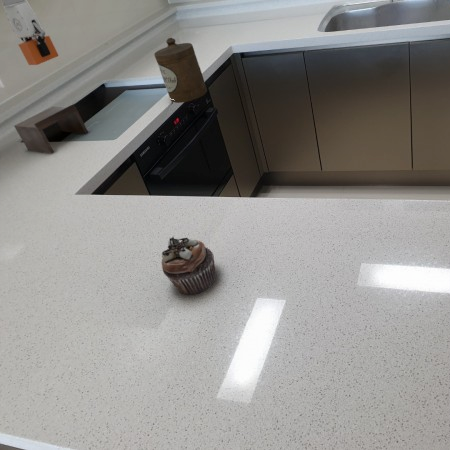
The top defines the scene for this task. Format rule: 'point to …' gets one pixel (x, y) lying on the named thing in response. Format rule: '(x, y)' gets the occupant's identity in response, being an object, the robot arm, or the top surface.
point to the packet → (37, 51)
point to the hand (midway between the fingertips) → (41, 55)
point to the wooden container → (180, 71)
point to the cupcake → (189, 265)
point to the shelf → (34, 125)
